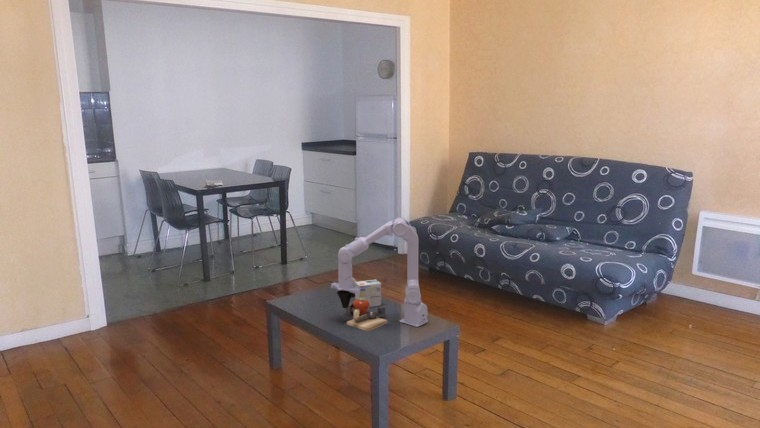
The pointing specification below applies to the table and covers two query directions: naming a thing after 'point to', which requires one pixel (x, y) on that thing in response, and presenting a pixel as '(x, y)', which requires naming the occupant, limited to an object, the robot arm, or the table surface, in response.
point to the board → (367, 323)
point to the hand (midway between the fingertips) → (345, 307)
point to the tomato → (361, 305)
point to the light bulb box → (370, 291)
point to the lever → (368, 314)
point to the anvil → (349, 309)
